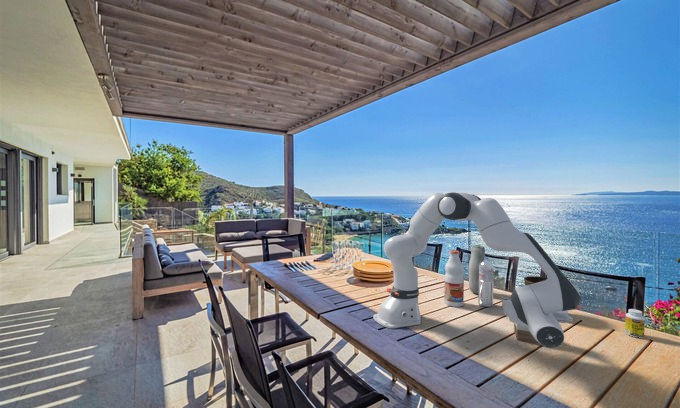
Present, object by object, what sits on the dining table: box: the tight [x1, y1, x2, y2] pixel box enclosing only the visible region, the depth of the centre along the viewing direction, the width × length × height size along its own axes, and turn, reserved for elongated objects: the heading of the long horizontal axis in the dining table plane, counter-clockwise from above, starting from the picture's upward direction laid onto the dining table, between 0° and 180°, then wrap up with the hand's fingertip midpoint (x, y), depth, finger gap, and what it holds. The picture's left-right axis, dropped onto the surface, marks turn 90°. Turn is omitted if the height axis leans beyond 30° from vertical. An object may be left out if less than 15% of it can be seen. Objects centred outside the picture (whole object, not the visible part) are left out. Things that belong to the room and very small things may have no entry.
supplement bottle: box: [624, 308, 646, 339], centre depth 119 cm, size 6×6×10 cm
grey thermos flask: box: [468, 244, 486, 295], centre depth 169 cm, size 10×10×28 cm
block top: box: [515, 323, 529, 331], centre depth 117 cm, size 8×8×4 cm
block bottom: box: [513, 323, 541, 345], centre depth 117 cm, size 8×8×4 cm
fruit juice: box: [443, 249, 465, 308], centre depth 153 cm, size 9×9×28 cm
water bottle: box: [477, 256, 495, 308], centre depth 151 cm, size 7×7×25 cm
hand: (529, 302), depth 114 cm, fingers open, 8 cm apart
